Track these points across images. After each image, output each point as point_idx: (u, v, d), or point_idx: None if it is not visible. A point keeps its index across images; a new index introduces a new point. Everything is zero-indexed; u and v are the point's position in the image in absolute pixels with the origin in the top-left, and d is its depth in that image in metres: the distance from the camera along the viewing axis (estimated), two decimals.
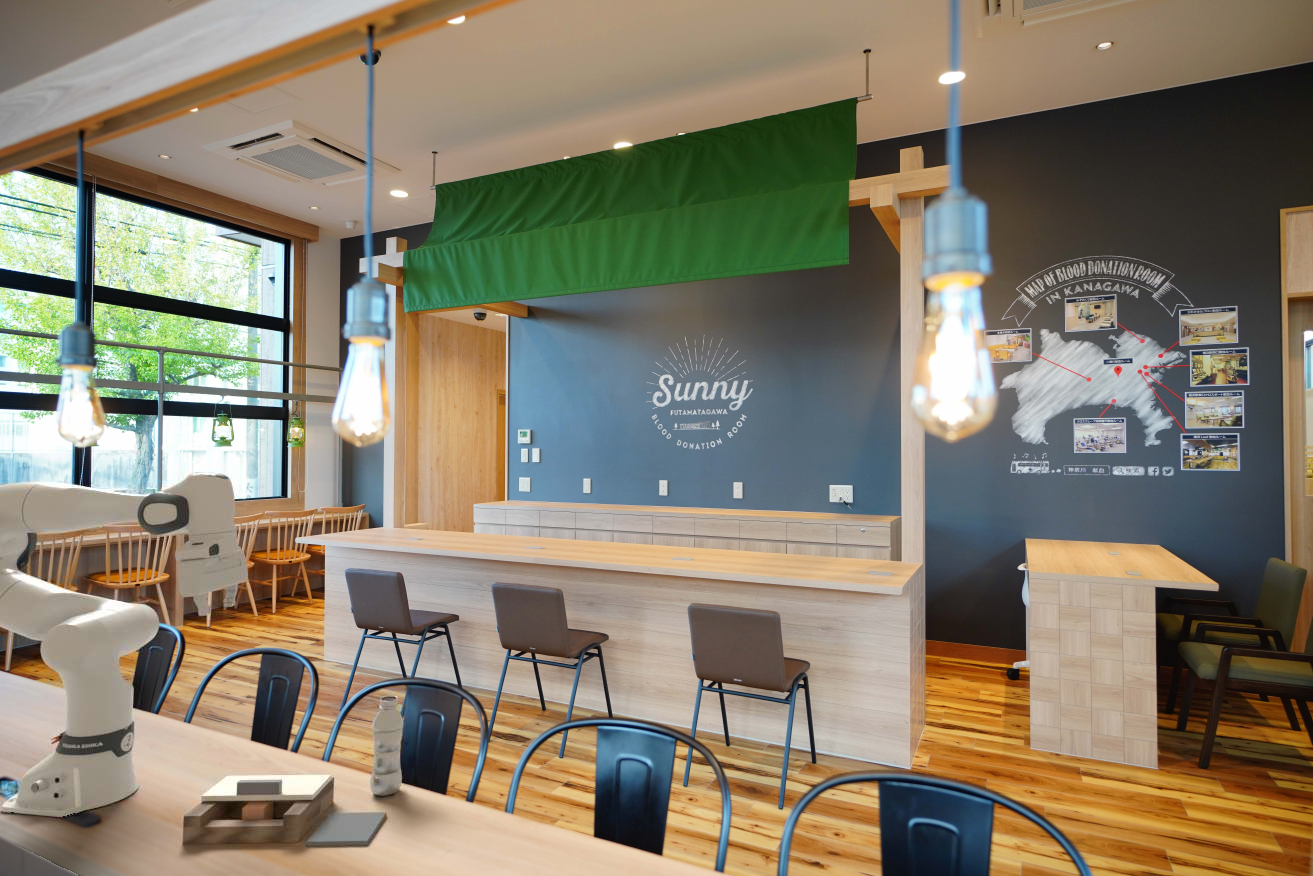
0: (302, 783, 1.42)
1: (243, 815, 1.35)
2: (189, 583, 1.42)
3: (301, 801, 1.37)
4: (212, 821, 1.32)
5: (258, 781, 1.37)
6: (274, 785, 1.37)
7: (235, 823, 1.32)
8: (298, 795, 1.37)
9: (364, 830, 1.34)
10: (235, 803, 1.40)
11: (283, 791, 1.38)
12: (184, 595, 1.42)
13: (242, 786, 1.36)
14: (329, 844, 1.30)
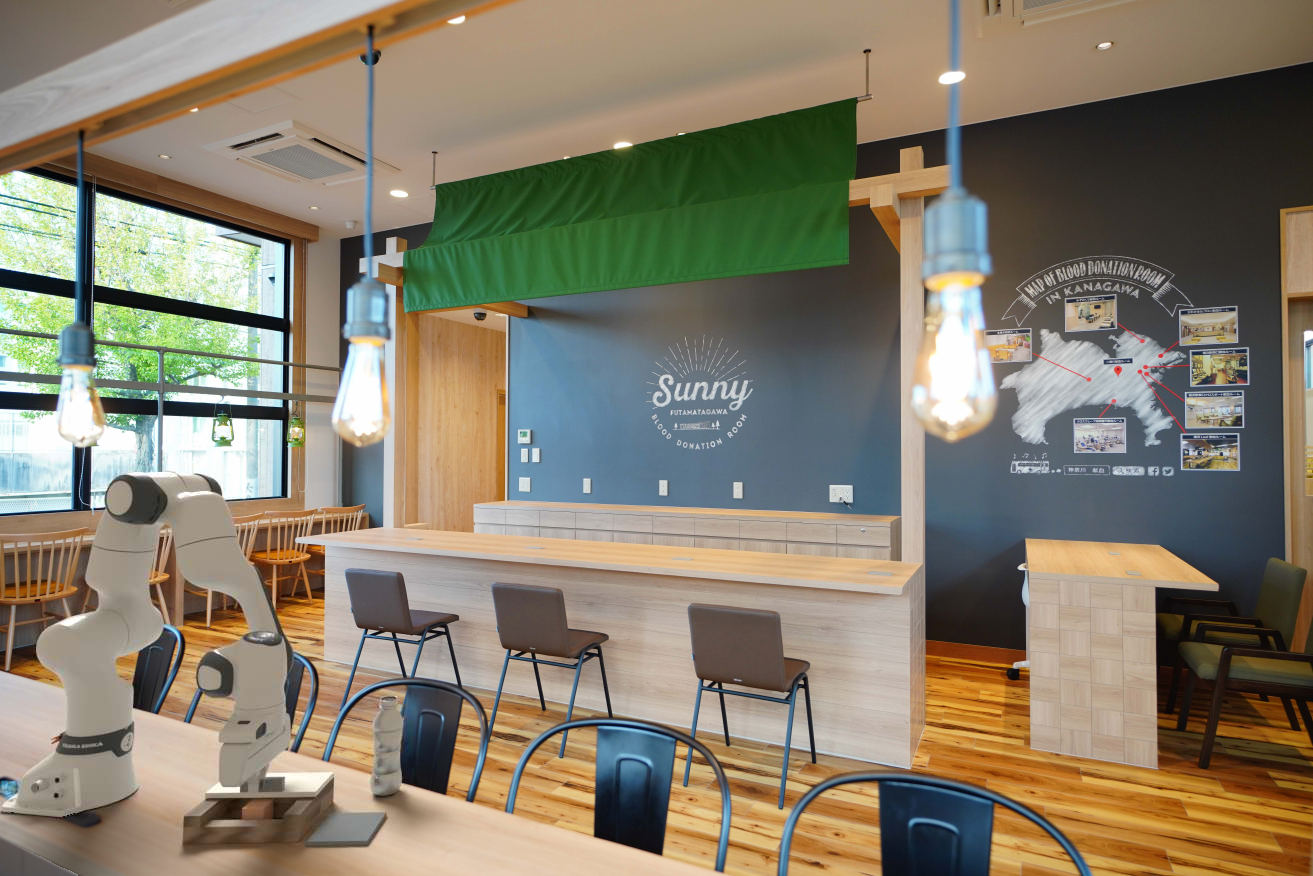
0: (305, 780, 1.43)
1: (243, 815, 1.35)
2: (231, 773, 1.27)
3: (301, 801, 1.37)
4: (212, 821, 1.32)
5: None
6: (277, 782, 1.38)
7: (235, 823, 1.32)
8: (301, 792, 1.38)
9: (364, 830, 1.34)
10: (235, 803, 1.40)
11: (286, 788, 1.39)
12: (225, 785, 1.27)
13: (246, 783, 1.38)
14: (329, 844, 1.30)
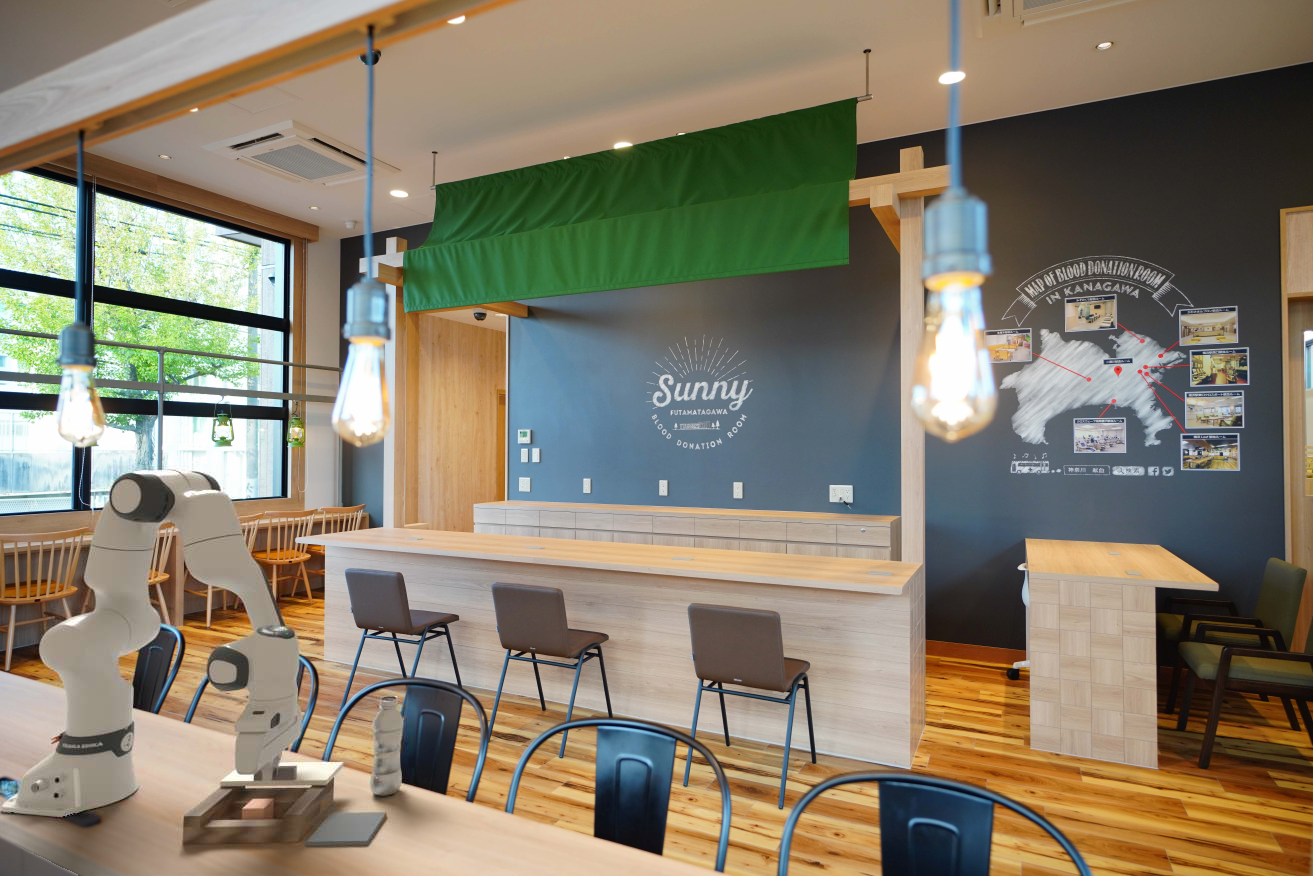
0: (316, 770, 1.48)
1: (243, 815, 1.35)
2: (247, 761, 1.32)
3: (301, 801, 1.37)
4: (212, 821, 1.32)
5: None
6: (289, 771, 1.43)
7: (235, 823, 1.32)
8: (312, 781, 1.43)
9: (364, 830, 1.34)
10: (235, 803, 1.40)
11: (298, 777, 1.45)
12: (241, 773, 1.32)
13: (259, 772, 1.43)
14: (329, 844, 1.30)
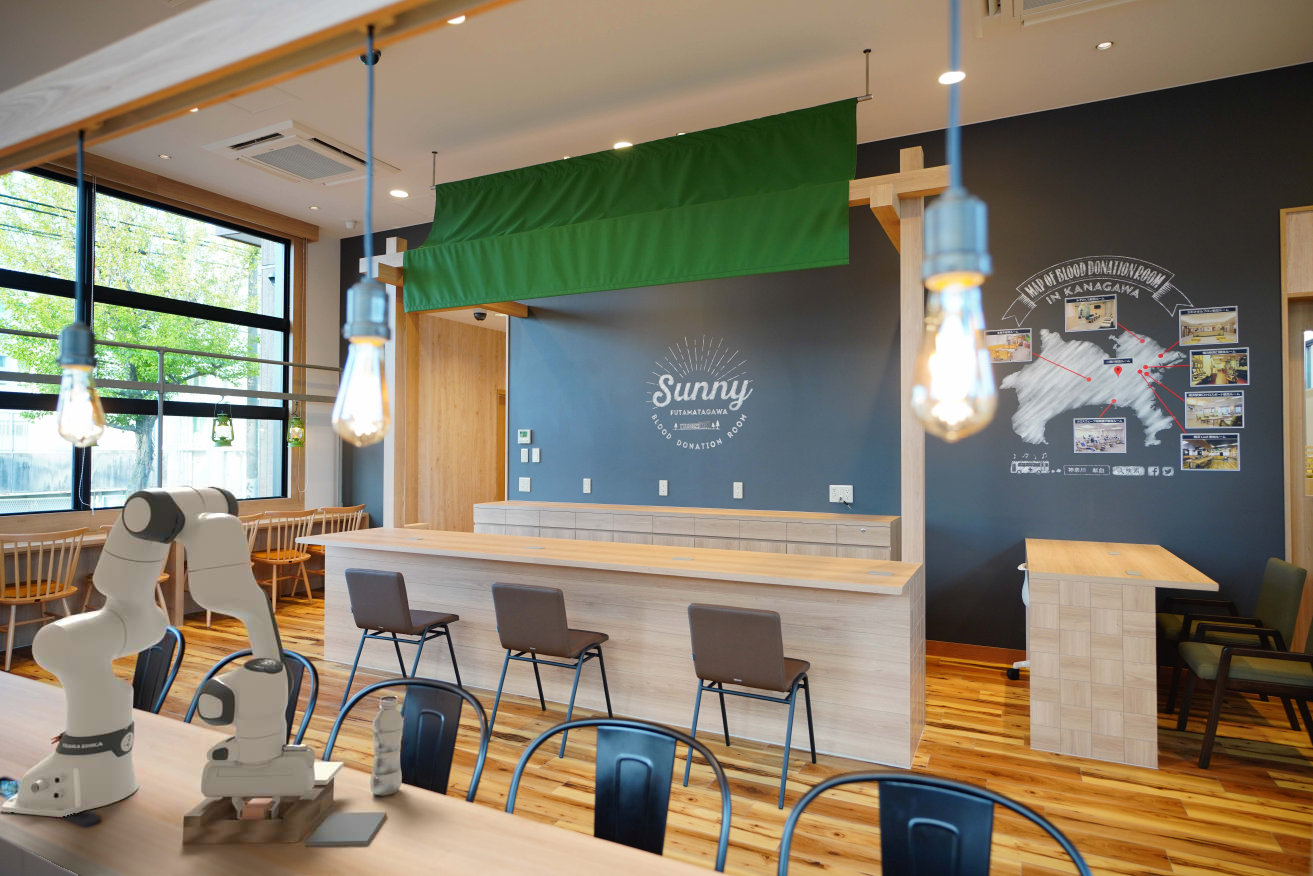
0: (316, 769, 1.48)
1: (243, 815, 1.35)
2: None
3: (301, 801, 1.37)
4: (212, 821, 1.32)
5: None
6: None
7: (235, 823, 1.32)
8: None
9: (364, 830, 1.34)
10: None
11: None
12: None
13: None
14: (329, 844, 1.30)
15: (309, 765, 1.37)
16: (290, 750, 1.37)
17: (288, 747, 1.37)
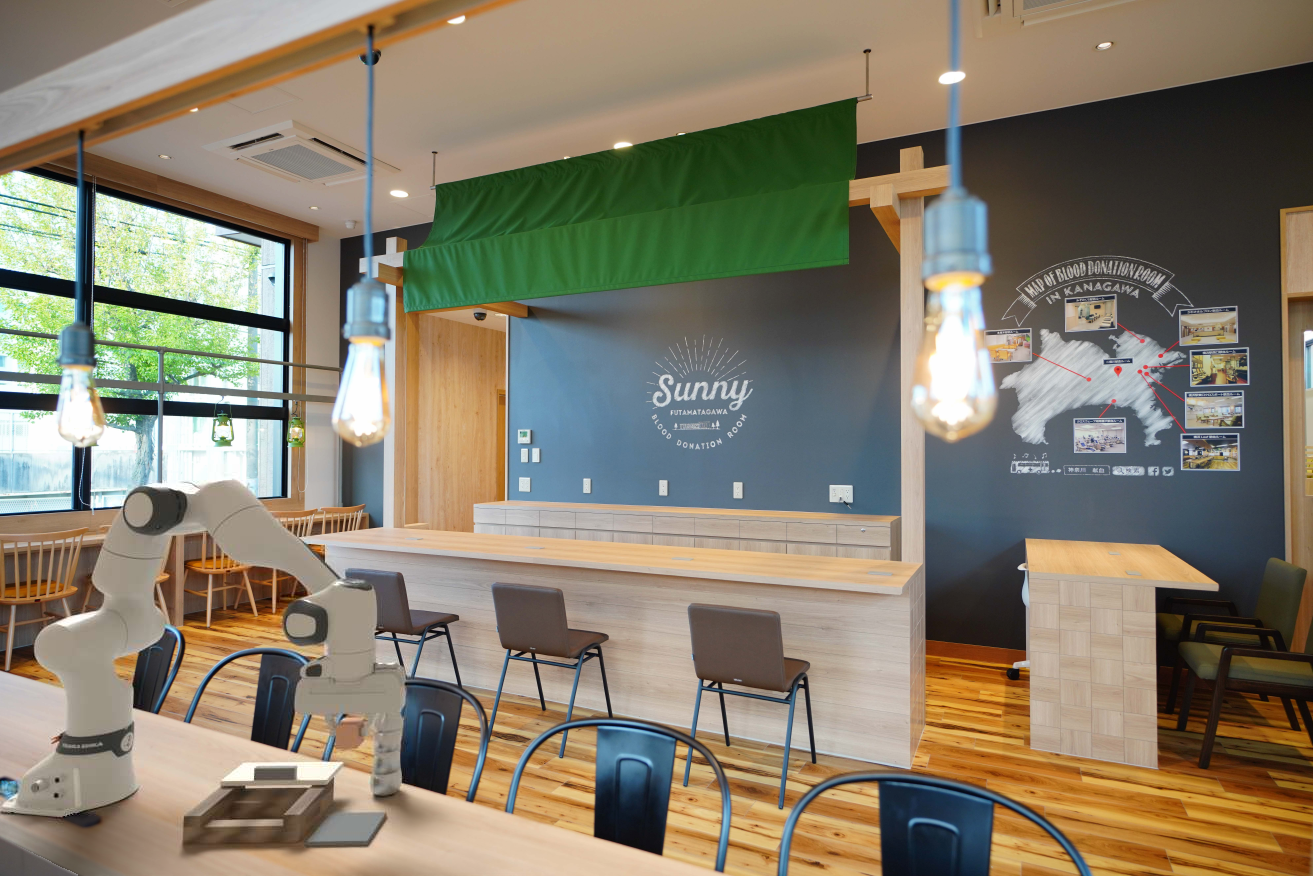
0: (316, 769, 1.48)
1: (337, 732, 1.34)
2: None
3: (301, 801, 1.37)
4: (212, 821, 1.32)
5: (275, 767, 1.43)
6: (289, 771, 1.43)
7: (235, 823, 1.32)
8: (312, 780, 1.43)
9: (364, 830, 1.34)
10: (235, 803, 1.40)
11: (298, 777, 1.45)
12: None
13: (259, 771, 1.43)
14: (329, 844, 1.30)
15: (401, 683, 1.37)
16: (381, 668, 1.37)
17: (379, 665, 1.37)
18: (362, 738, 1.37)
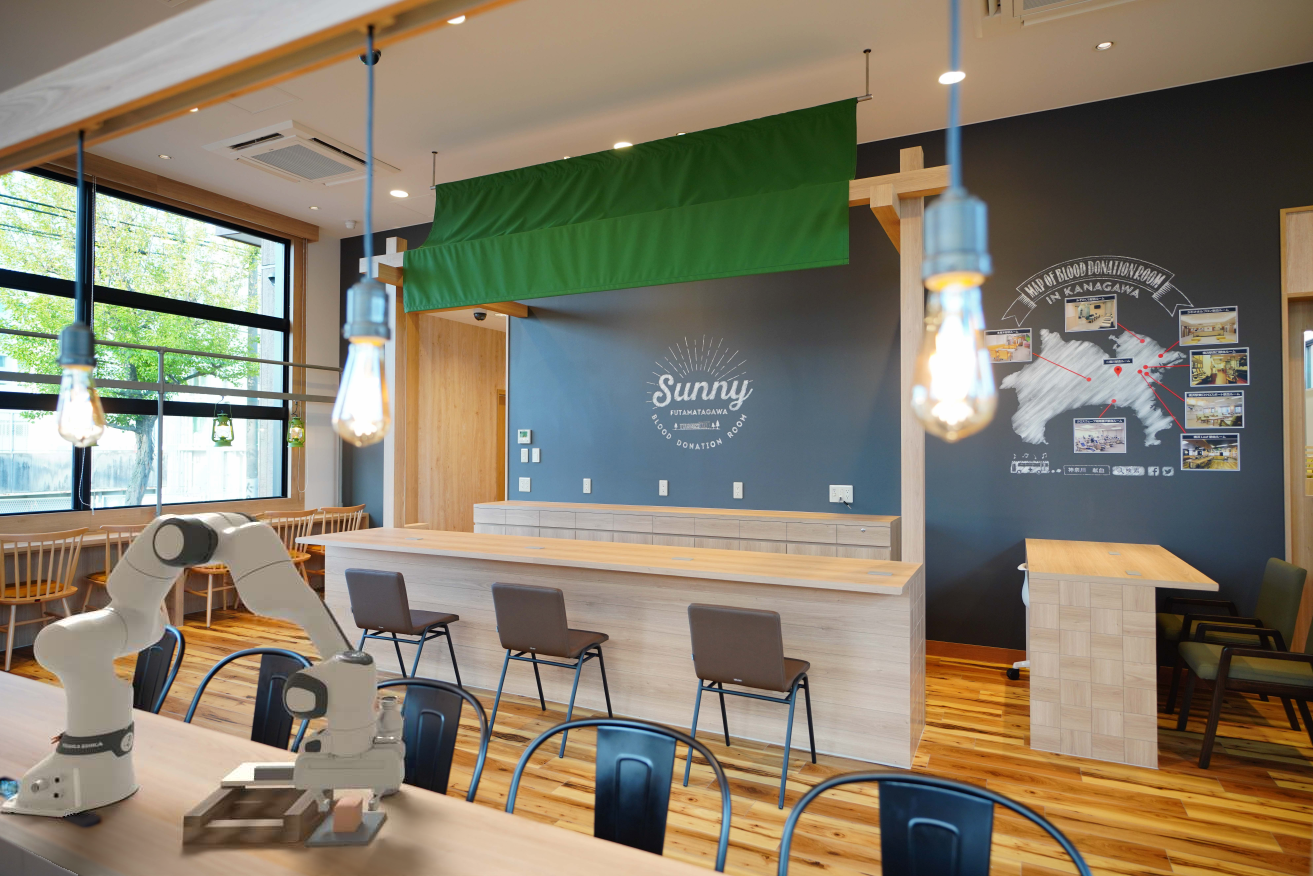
0: None
1: (335, 814, 1.34)
2: None
3: (301, 801, 1.37)
4: (212, 821, 1.32)
5: (275, 767, 1.43)
6: (289, 771, 1.43)
7: (235, 823, 1.32)
8: None
9: (364, 830, 1.34)
10: (235, 803, 1.40)
11: None
12: None
13: (259, 771, 1.43)
14: (329, 844, 1.30)
15: (400, 758, 1.36)
16: (381, 742, 1.36)
17: (379, 739, 1.36)
18: (360, 819, 1.37)
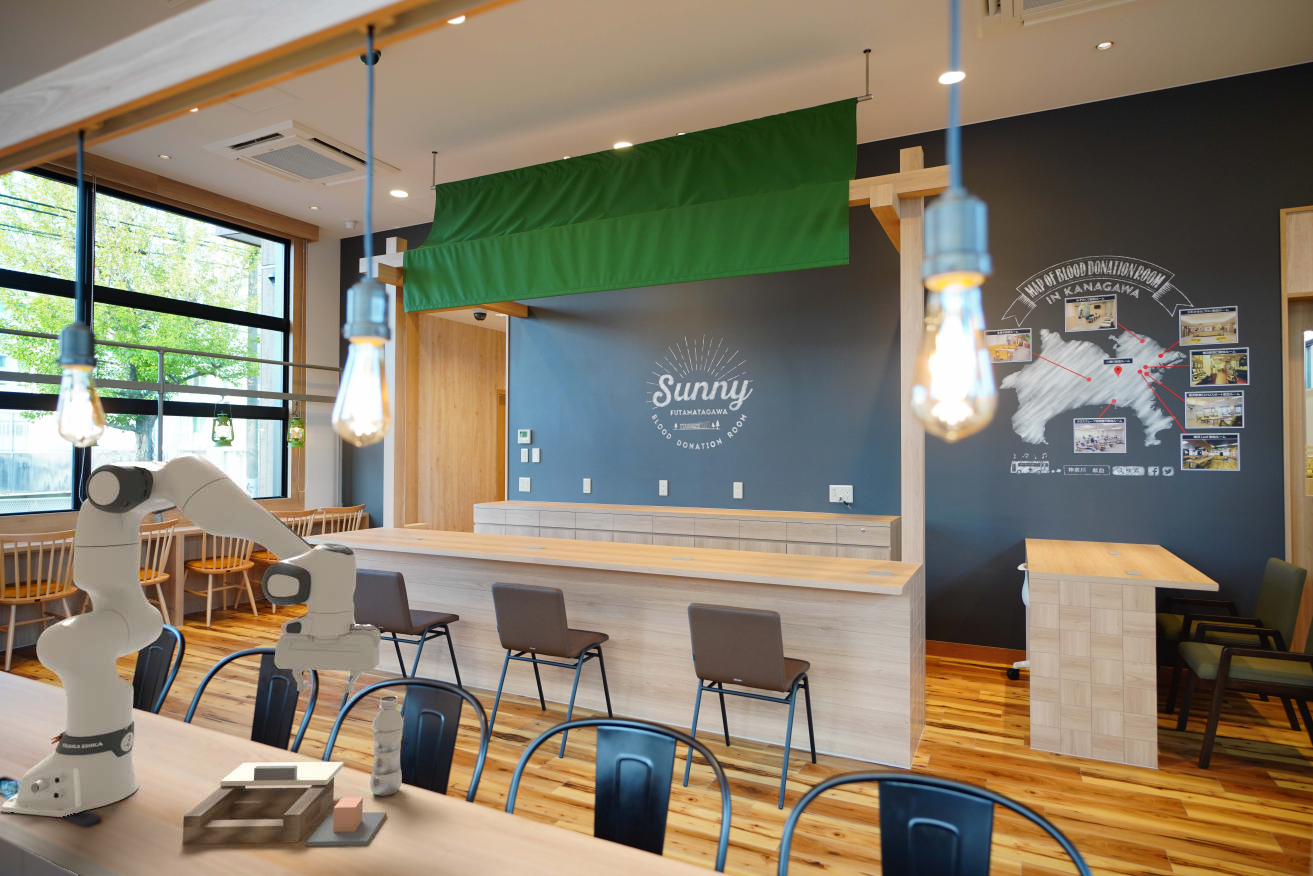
0: (316, 769, 1.48)
1: (335, 814, 1.34)
2: None
3: (301, 801, 1.37)
4: (212, 821, 1.32)
5: (275, 767, 1.43)
6: (289, 771, 1.43)
7: (235, 823, 1.32)
8: (312, 780, 1.43)
9: (364, 830, 1.34)
10: (235, 803, 1.40)
11: (298, 777, 1.45)
12: None
13: (259, 771, 1.43)
14: (329, 844, 1.30)
15: (375, 644, 1.45)
16: (358, 629, 1.45)
17: (356, 626, 1.45)
18: (360, 819, 1.37)
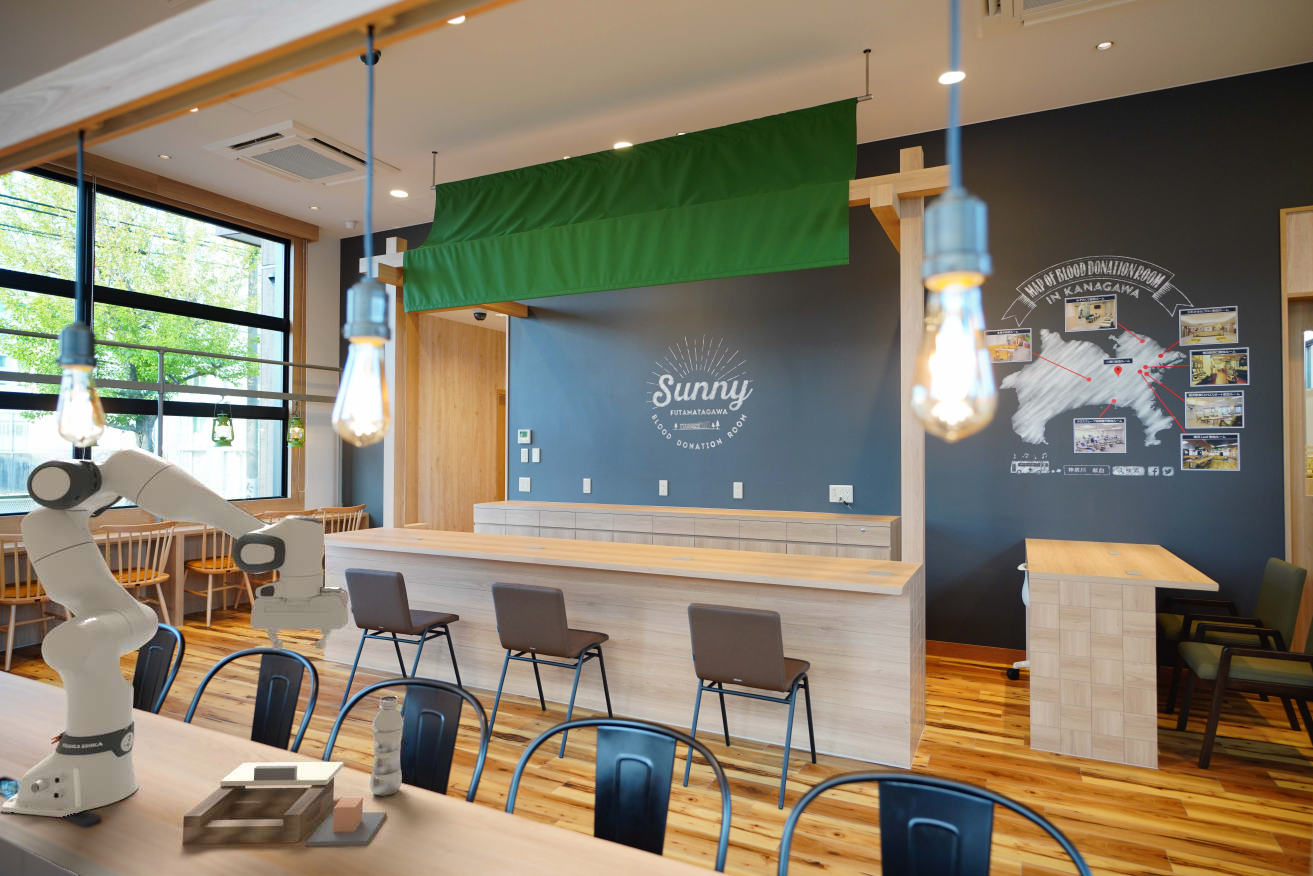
0: (316, 769, 1.48)
1: (335, 814, 1.34)
2: None
3: (301, 801, 1.37)
4: (212, 821, 1.32)
5: (275, 767, 1.43)
6: (289, 771, 1.43)
7: (235, 823, 1.32)
8: (312, 780, 1.43)
9: (364, 830, 1.34)
10: (235, 803, 1.40)
11: (298, 777, 1.45)
12: None
13: (259, 771, 1.43)
14: (329, 844, 1.30)
15: (343, 604, 1.58)
16: (327, 591, 1.58)
17: (325, 588, 1.58)
18: (360, 819, 1.37)
